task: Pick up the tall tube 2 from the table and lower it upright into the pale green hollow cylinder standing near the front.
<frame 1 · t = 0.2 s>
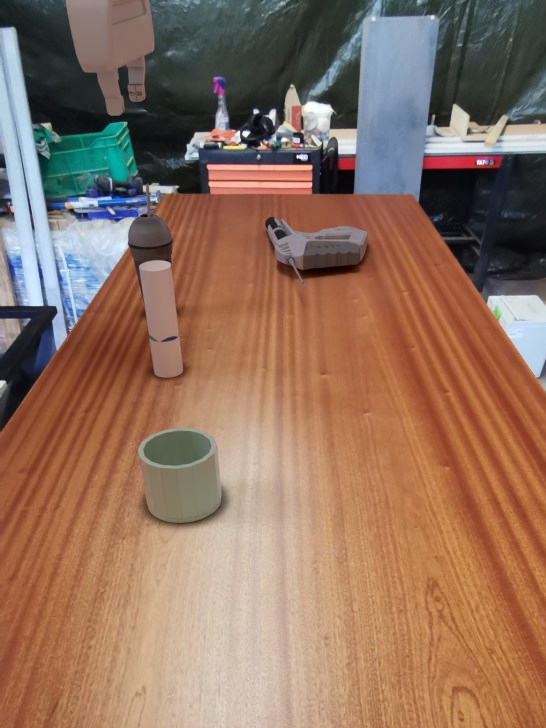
hand: (127, 107, 91), 32 cm above the table, tool pointing down, fingers open, 8 cm apart
beverage cup: (160, 314, 126), on the table
tube 2: (168, 372, 109), on the table
pale green hollow cylinder: (184, 501, 84), on the table
power tool: (325, 263, 144), on the table
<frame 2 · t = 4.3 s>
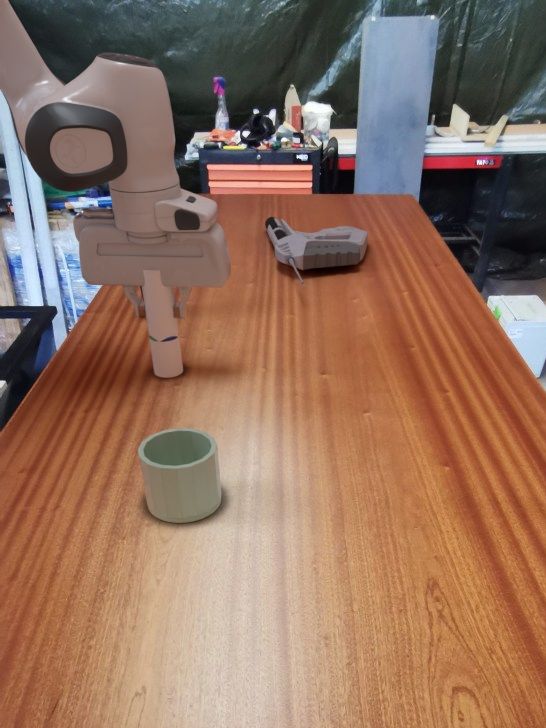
hand: (161, 316, 104), 8 cm above the table, tool pointing down, fingers closed on tube 2, 4 cm apart
tube 2: (168, 372, 109), on the table, touching gripper
everything else where it was.
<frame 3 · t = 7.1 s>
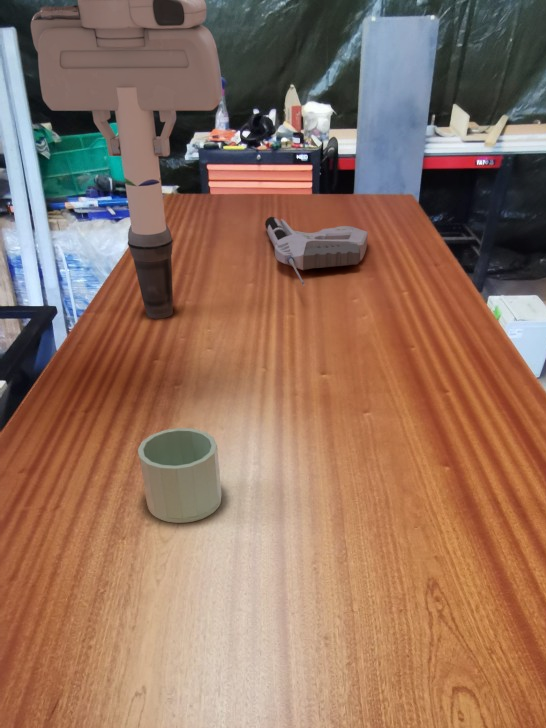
hand: (140, 155, 87), 29 cm above the table, tool pointing down, fingers closed on tube 2, 4 cm apart
tube 2: (149, 231, 92), point 20 cm above the table, touching gripper
everything else where it was.
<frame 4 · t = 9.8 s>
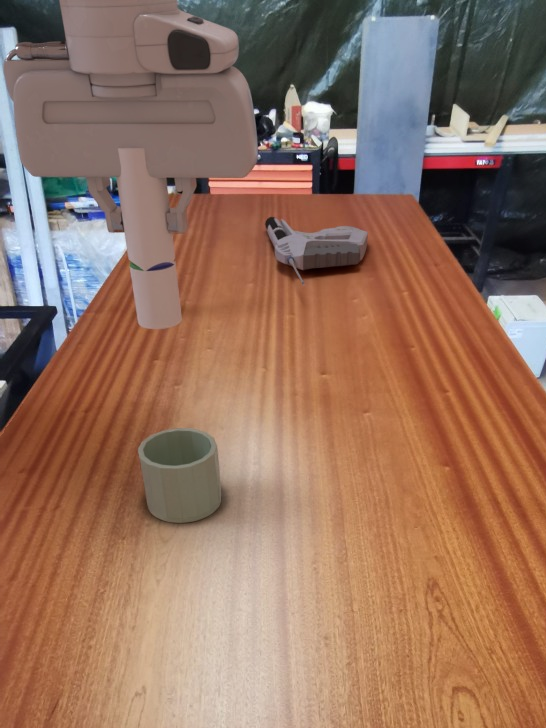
hand: (148, 231, 67), 28 cm above the table, tool pointing down, fingers closed on tube 2, 4 cm apart
tube 2: (160, 322, 72), point 20 cm above the table, touching gripper
everything else where it was.
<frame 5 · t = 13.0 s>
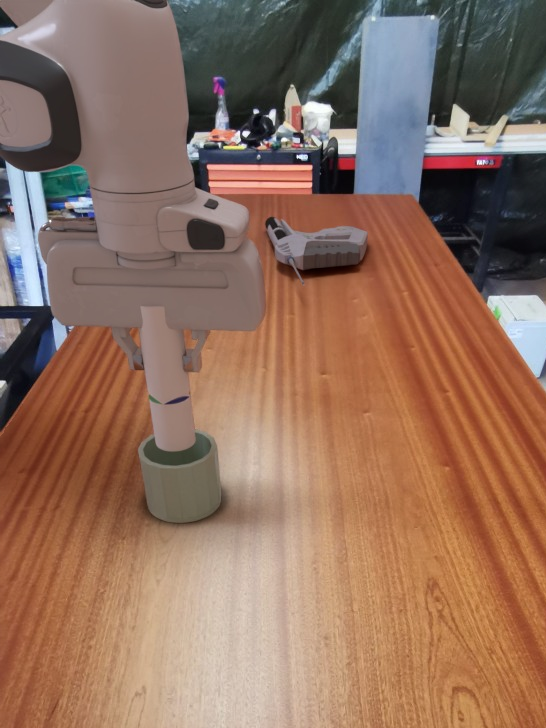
hand: (166, 369, 73), 16 cm above the table, tool pointing down, fingers closed on tube 2, 4 cm apart
tube 2: (175, 442, 79), point 8 cm above the table, touching gripper
everything else where it was.
when the fingers open (9 cm above the table, at t = 15.4 s): tube 2 stays where it is, resting on pale green hollow cylinder.
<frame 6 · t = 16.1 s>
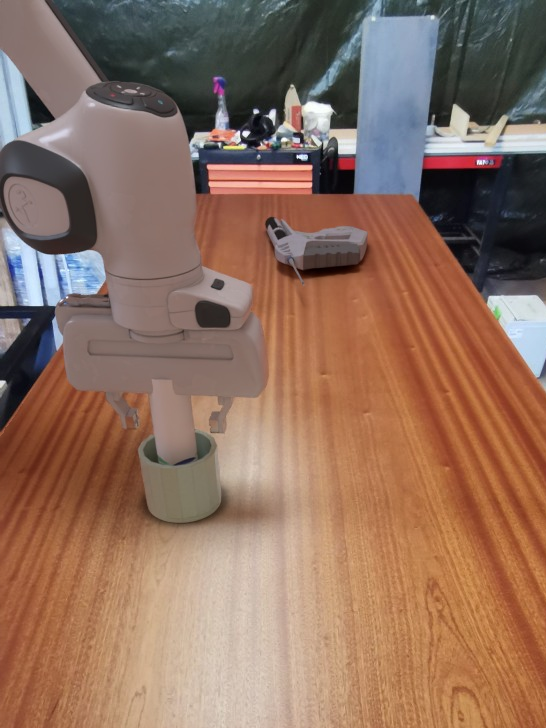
hand: (174, 429, 78), 9 cm above the table, tool pointing down, fingers open, 8 cm apart
tube 2: (183, 497, 84), resting on pale green hollow cylinder
everything else where it was.
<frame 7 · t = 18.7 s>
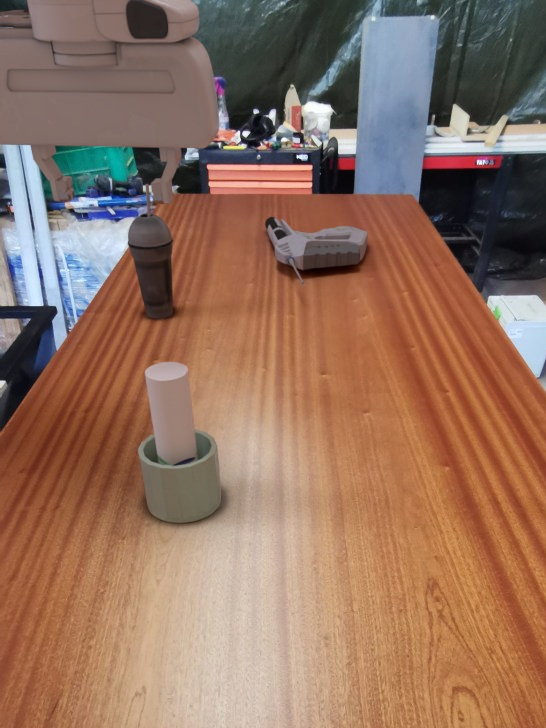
hand: (113, 201, 68), 30 cm above the table, tool pointing down, fingers open, 8 cm apart
nothing on the table moved.
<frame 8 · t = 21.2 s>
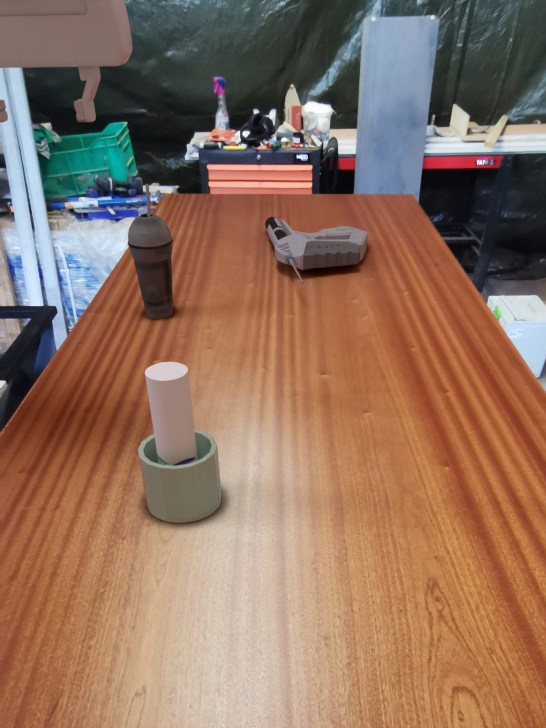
hand: (42, 121, 75), 34 cm above the table, tool pointing down, fingers open, 8 cm apart
nothing on the table moved.
at the end: tube 2 0.1 cm off-centre in the pale green hollow cylinder, point 0.4 cm above the pale green hollow cylinder's base; tube 2 tilted 0°; the gripper is holding nothing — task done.
